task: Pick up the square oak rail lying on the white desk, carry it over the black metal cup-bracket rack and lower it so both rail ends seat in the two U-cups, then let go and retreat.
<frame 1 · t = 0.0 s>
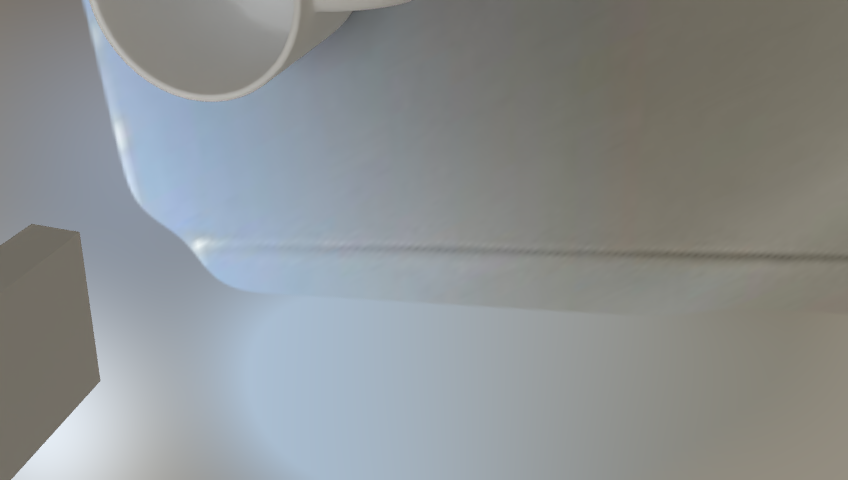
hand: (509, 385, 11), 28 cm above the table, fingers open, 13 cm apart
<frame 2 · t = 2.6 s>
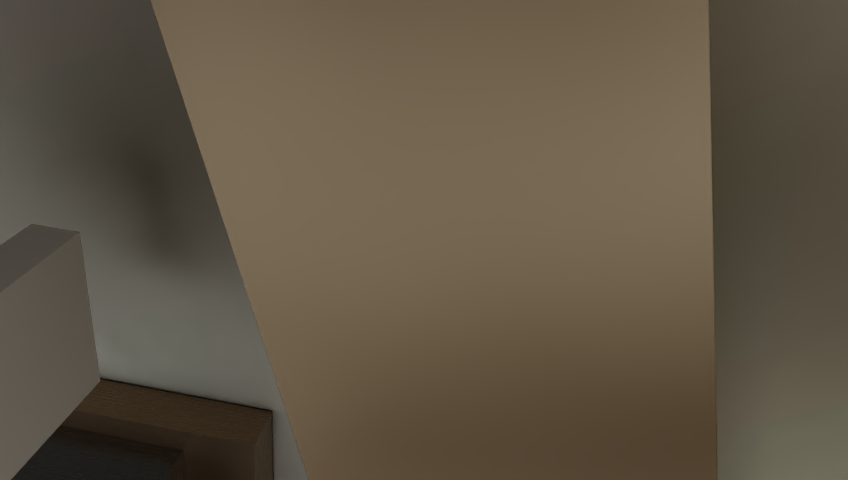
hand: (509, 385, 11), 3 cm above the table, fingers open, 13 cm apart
rail: (523, 251, 14), on the table
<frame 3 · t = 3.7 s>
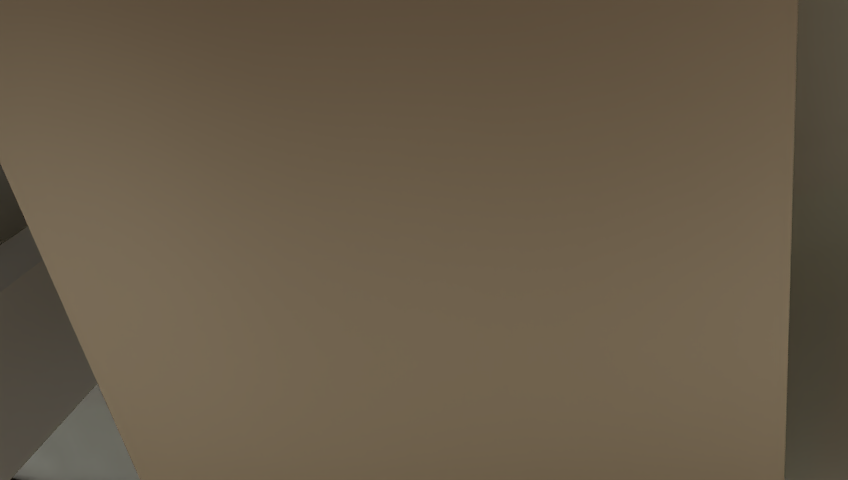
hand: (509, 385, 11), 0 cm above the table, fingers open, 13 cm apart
rail: (518, 356, 11), on the table
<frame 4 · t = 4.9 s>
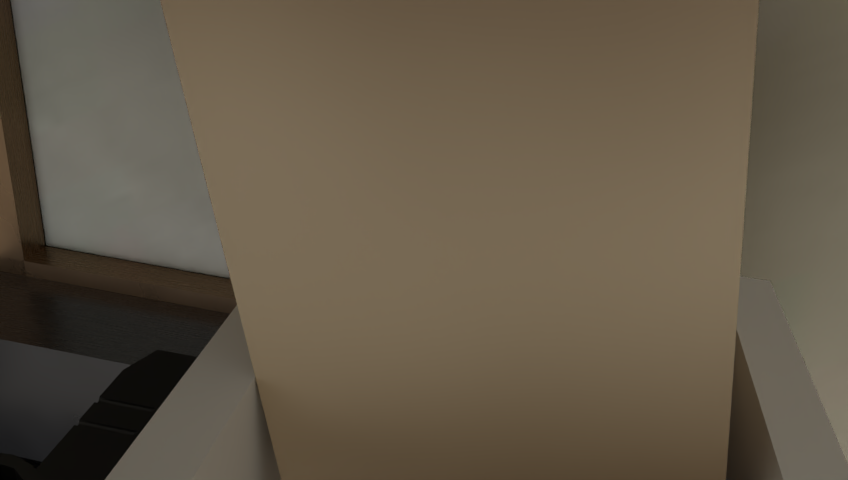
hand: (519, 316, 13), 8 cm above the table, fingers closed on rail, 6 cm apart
rail: (522, 300, 13), point 7 cm above the table, touching gripper
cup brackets: (141, 120, 21), on the table
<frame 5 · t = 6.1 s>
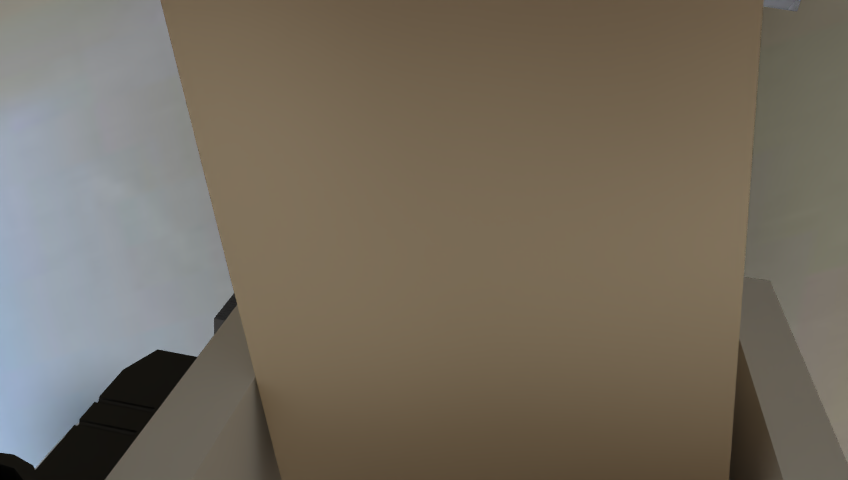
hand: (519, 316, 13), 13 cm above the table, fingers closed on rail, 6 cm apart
rail: (524, 303, 13), point 12 cm above the table, touching gripper
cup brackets: (489, 104, 24), on the table
when the fingers open (5 cm above the table, at t = 7.8 s): rail stays where it is, resting on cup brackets.
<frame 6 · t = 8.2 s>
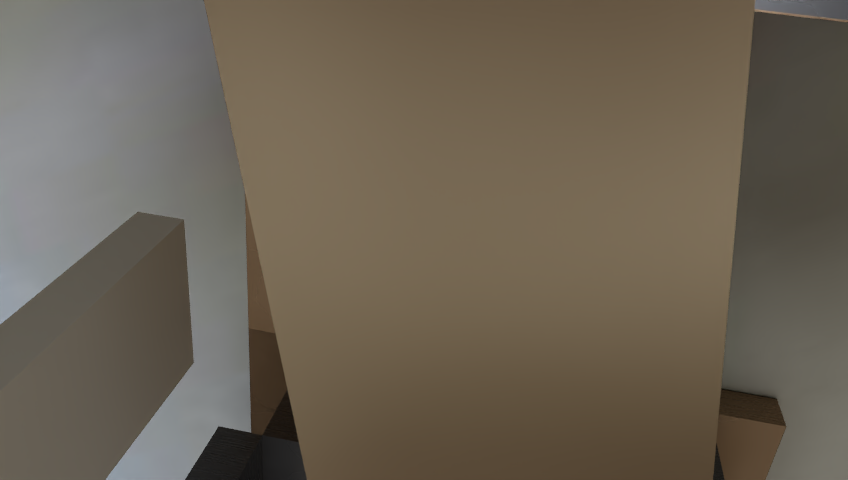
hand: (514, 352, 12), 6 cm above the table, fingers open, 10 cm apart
rail: (524, 280, 14), point 4 cm above the table, touching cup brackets
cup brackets: (537, 188, 17), on the table
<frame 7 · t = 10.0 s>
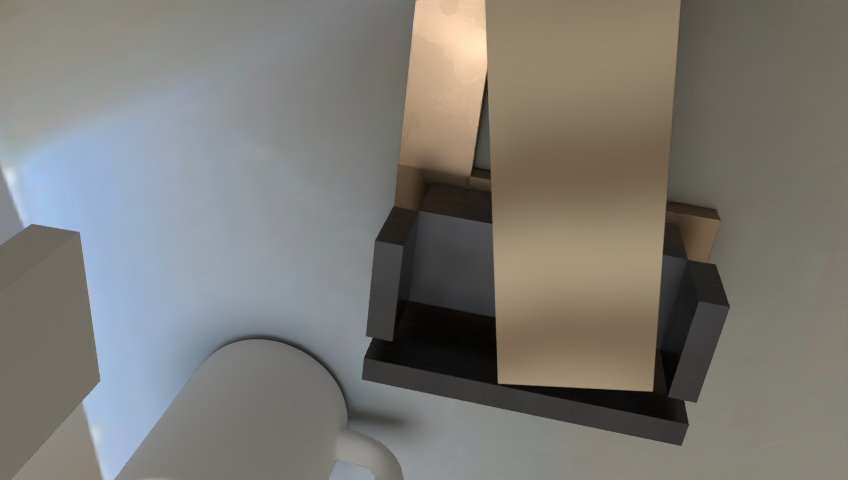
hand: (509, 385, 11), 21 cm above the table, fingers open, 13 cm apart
mug: (310, 404, 40), on the table
rail: (578, 107, 26), point 4 cm above the table, touching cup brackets
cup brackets: (578, 76, 30), on the table
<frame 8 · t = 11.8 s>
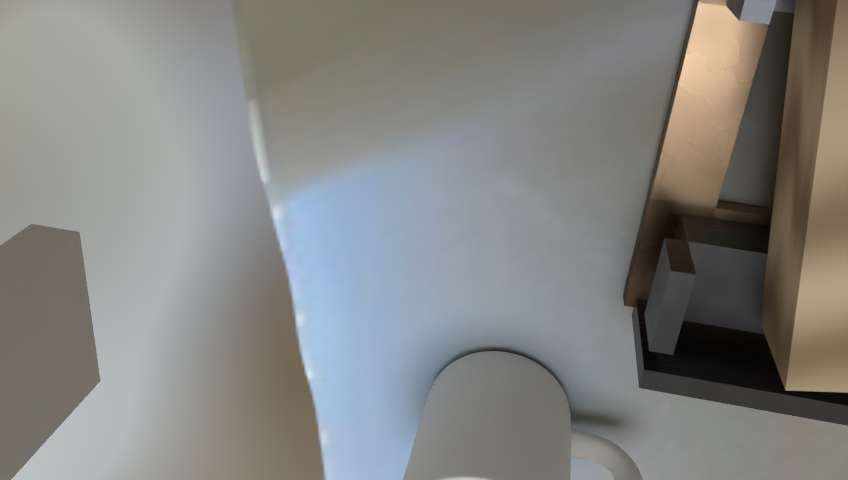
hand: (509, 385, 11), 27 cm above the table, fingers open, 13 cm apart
mug: (531, 407, 45), on the table
rail: (845, 153, 31), point 4 cm above the table, touching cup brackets
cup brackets: (819, 120, 34), on the table
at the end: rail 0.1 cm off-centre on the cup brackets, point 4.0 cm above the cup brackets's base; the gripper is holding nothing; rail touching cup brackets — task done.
